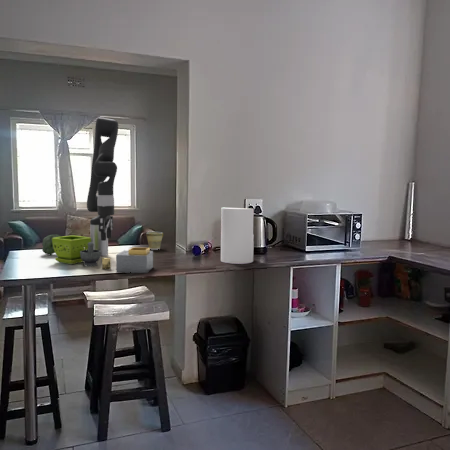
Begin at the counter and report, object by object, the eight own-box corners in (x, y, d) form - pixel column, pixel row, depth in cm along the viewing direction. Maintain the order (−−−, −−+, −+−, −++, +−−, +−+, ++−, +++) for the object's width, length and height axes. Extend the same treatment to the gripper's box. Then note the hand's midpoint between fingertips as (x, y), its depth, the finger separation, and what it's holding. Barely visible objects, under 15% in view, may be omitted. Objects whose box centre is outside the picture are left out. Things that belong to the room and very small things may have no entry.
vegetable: (72, 252, 243) (46, 241, 235) (61, 266, 248) (35, 256, 240) (74, 236, 252) (49, 226, 244) (63, 250, 257) (38, 240, 249)
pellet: (100, 269, 209) (100, 259, 208) (103, 267, 213) (103, 257, 212) (109, 269, 209) (109, 259, 208) (111, 268, 213) (111, 257, 212)
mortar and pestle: (80, 263, 222) (80, 239, 221) (99, 262, 225) (99, 239, 224) (80, 268, 211) (80, 243, 210) (101, 267, 214) (101, 242, 213)
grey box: (116, 272, 203) (116, 250, 202) (124, 266, 216) (124, 246, 215) (146, 273, 202) (146, 251, 201) (152, 267, 215) (152, 247, 214)
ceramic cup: (155, 250, 264) (155, 234, 263) (142, 249, 269) (142, 232, 268) (169, 248, 275) (169, 232, 274) (157, 246, 280) (157, 230, 279)
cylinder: (247, 264, 226) (248, 209, 223) (215, 262, 232) (216, 208, 229) (257, 259, 242) (258, 207, 239) (227, 256, 248) (227, 206, 245)
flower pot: (71, 265, 216) (70, 240, 215) (51, 262, 223) (50, 237, 222) (92, 261, 228) (92, 236, 227) (73, 258, 235) (72, 234, 234)
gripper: (102, 203, 215) (103, 237, 217) (92, 205, 201) (93, 241, 202) (118, 204, 215) (118, 237, 216) (109, 205, 200) (109, 241, 202)
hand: (106, 239), depth 209 cm, fingers open, 8 cm apart
